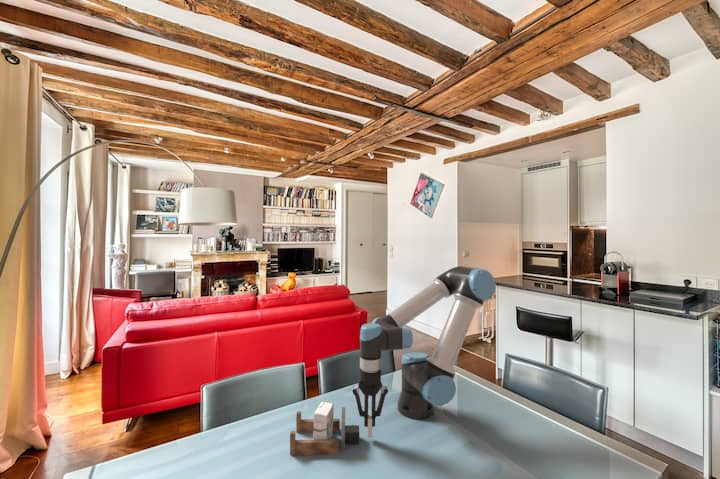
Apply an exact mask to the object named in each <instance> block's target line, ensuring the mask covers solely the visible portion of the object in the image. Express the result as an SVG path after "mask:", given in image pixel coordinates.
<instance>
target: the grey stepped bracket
mask: <svg viewBox="0 0 720 479" xmlns="http://www.w3.org/2000/svg"><path fill="white" fill-rule="evenodd" d="M340 426H341V427H340V432H341V433H340V436H341V437H340V439H341V442H340V443H341V445H340V446H341V447H340V449H341V450H346V445H353V444H354V445H356V444H357V445H359V444H360V425H359V424H355V425H354V424H348V425H346V407H345V406H344V407H342V408H341V420H340Z"/></svg>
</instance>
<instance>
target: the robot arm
mask: <svg viewBox="0 0 720 479" xmlns="http://www.w3.org/2000/svg"><path fill="white" fill-rule="evenodd" d="M432 282H433V283H431V284H429V285H428V286H426V287H425V288H424V289H422V290H421V291H419V292H418V293H417V294H415V295H414V296H412V297H411V298H409V299H408V300H407V301H405V302H404V303H402V304H401V305H400V306H398V307H397V308H395V309H393V310H392V311H391V312H389V313H388V314H386V315H385V316H383V317H381V316H380V317H375V318H374V319H373V320H372V321H371V323H369V322H368V323H364V324H362V325H361V327H360V331H359V332H360V334H359V347H360V349H359V381H358V385H356V386H352V389H351V390H352V391H351V392H352V393H353V395H354V396H355V402H356V406H357V410H358V415H359V417H360V418H361V417H363V420H364V424H363V425H364V427H365V428H367V429H366V434H367V438H369V439H370V438H373V427H374V428H375V427H376V418H377V417H381V415H382V411H383V407H384V403H385V400H386V399H385V398H386V395H388V393H389V390H388V386H386V385H383V384H382V381H381V380H382V370H381V368H382V352H389V351H395V350H396V351H397V350H405V349H409V348H412V346H413V343H414V336H413V333H412V330H411V329H410V328H409V327H405V326H406V325H408V324H409V323H410V322H411V321H413V320H414V319H416V318H417V317H419V316H420V315H422V313H423V314H424V312H425V311H427V310H428V309H430V308H432V307H433V306H434V305H435V304H437V303H438V302H440V301H441V300H443V298H445V299H447V298H450V297H451V296H453V297H454V302H453V305H452V306H451V309H450V311H449V314H448V315H447V318H446V322H445V323H444V326H443V328H442V331H441V333H440V336H439V339H438V340H437V343H436V345H435V348H434V350H433V353H432V354H431V355H429V354H427V353H426V352H425V353H424V352H414V351H413V352H407V353H405V354H402V356H401V357H402V358H401V391H400V394H399V397H398V400H397V410H398V412H399V413H400V414H401V415H402V416H405V417H406V418H409V419H415V420H422V419H427V418H430V417H431V416H433V414H434V412H435V411H434V410H435V406H436V407H443V406H444V405H446V404H448V403H450V402H451V401H452V400H453V399H454V397H455V394H456V392H457V386H456V382H455V381H454V378H455V376H456V370H455V369H454V366H455V363H456V361H457V358H458V356H459V354H460V351H461V349H462V346H463V343H464V342H465V338H466V336H467V334H468V331H469V329H470V326H471V324H472V321H473V318H474V316H475V313H476V311H477V309H479V308H481V307H483V304H484V302H485V301H488V300H490V299H491V298H493V296H494V295H495V292H496V290H497V289H496V288H497V284H496V280H495V278H494V276H493V274H492V273H491V272H490V271H488V270H486V269H484V268H479V267H469V266H459V265H458V266H454V267H452V268H450V269H448V270H446V271H445V272H442V273H441V274H440V275H438V276H436V277H435V278H434V279H433V280H432ZM360 391H361V393H362V394H363V396H364V402H363V403H364V405H363V406H364V408H363V406H362V401H361V398H360V394H359V393H360ZM379 392H380V395H379V400H378V405H377V407H376V399H377V397H376V395H378V393H379ZM370 396H371V414H369V397H370Z"/></svg>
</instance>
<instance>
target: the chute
mask: <svg viewBox="0 0 720 479" xmlns="http://www.w3.org/2000/svg"><path fill="white" fill-rule="evenodd" d="M295 415H296V417H295V418H296V419H295V420H296V422H295V423H296V425H295V426H296V429H295V430H291V431H290V433H289V456H309V455H310V456H315V455H316V456H319V455H320V456H321V455H324V456H325V455H339V451H340V450H339V446H340V445H339V444H340V443H339V440H340V439H338V438H337V439H333V438H331V439H329V440H313V439H296V433H298V434H299V433H313V430H314V418H310V419H309V418H307V419H306V418H304V419H303V418H302V411H301V410H300V411H299V410H298V411H296V414H295ZM340 426H341V418H333V433H340V432H341V427H340Z"/></svg>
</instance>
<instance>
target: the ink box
mask: <svg viewBox="0 0 720 479" xmlns="http://www.w3.org/2000/svg"><path fill="white" fill-rule="evenodd" d="M334 405H335V404H334V403H333V402H328V401H327V402H326V401H321V402H320V404H318V407H317V408H316V410H315V411H314V414H313V419H314V430H313V432H312V433H313V434H312V435H313V436H312V440H329V439H333V435H334V432H333V419H334V407H335V406H334Z"/></svg>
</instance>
